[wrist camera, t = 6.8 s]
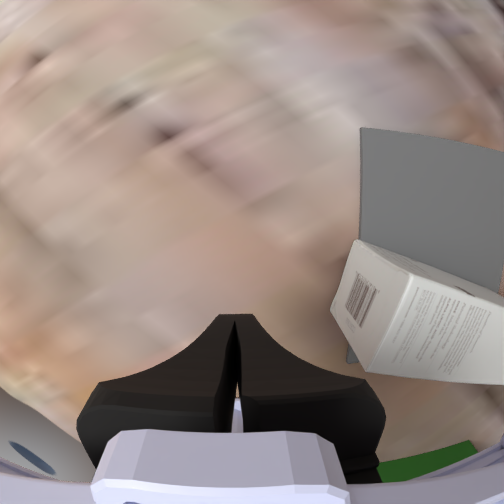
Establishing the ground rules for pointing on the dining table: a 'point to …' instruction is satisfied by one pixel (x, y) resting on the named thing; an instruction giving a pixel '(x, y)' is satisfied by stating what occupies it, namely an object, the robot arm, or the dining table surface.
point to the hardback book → (424, 462)
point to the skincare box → (418, 319)
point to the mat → (433, 204)
